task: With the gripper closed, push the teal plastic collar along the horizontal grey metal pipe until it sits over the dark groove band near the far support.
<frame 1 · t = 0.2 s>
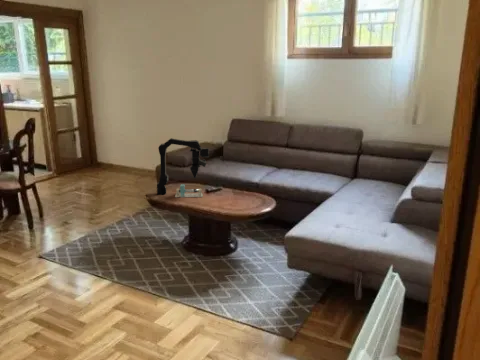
hand: (195, 176, 325), 14 cm above the table, fingers open, 9 cm apart
pipe rig: (189, 195, 323), on the table
collar: (182, 189, 322), point 5 cm above the table, slide at 0.0 cm
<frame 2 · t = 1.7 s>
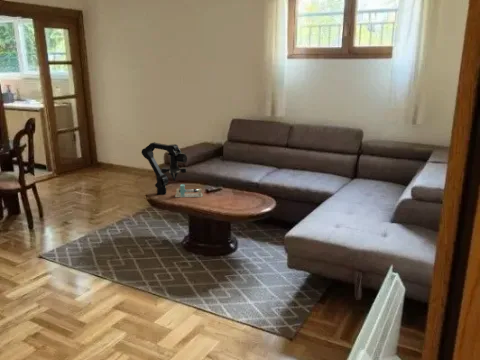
hand: (174, 181, 319), 12 cm above the table, fingers closed
nothing on the table moved.
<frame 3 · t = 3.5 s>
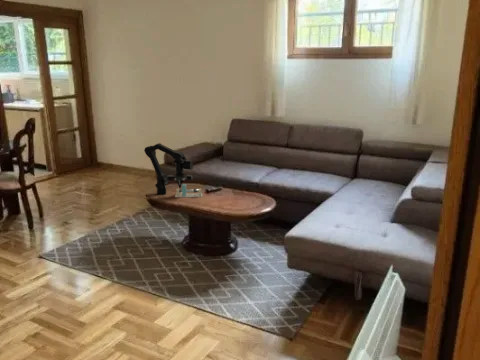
hand: (180, 188, 321), 6 cm above the table, fingers closed
collar: (184, 189, 322), point 5 cm above the table, slide at 1.2 cm, touching gripper
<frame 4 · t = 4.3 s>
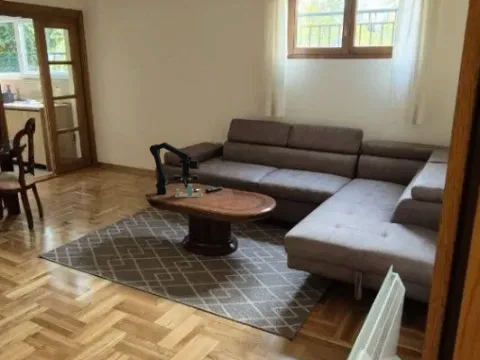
hand: (186, 188, 321), 6 cm above the table, fingers closed
collar: (190, 189, 322), point 5 cm above the table, slide at 5.9 cm, touching gripper
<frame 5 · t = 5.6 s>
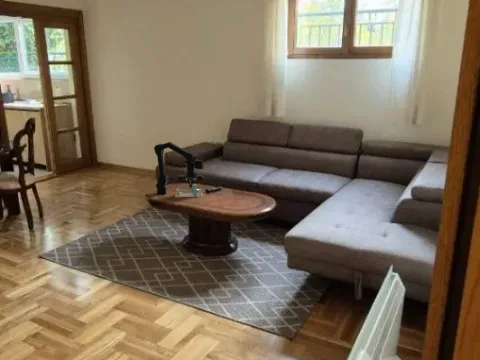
hand: (190, 188, 322), 6 cm above the table, fingers closed
collar: (194, 189, 322), point 5 cm above the table, slide at 9.5 cm, touching gripper
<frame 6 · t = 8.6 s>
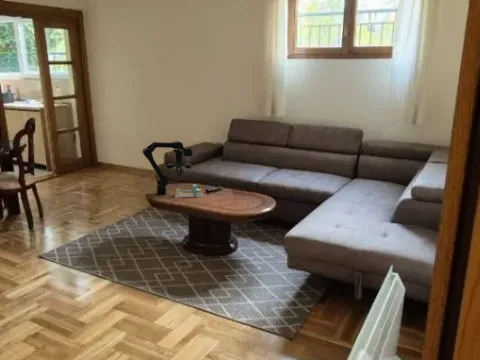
hand: (179, 176, 330), 13 cm above the table, fingers closed
collar: (194, 189, 322), point 5 cm above the table, slide at 9.5 cm
at the end: collar slide at 9.5 cm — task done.
